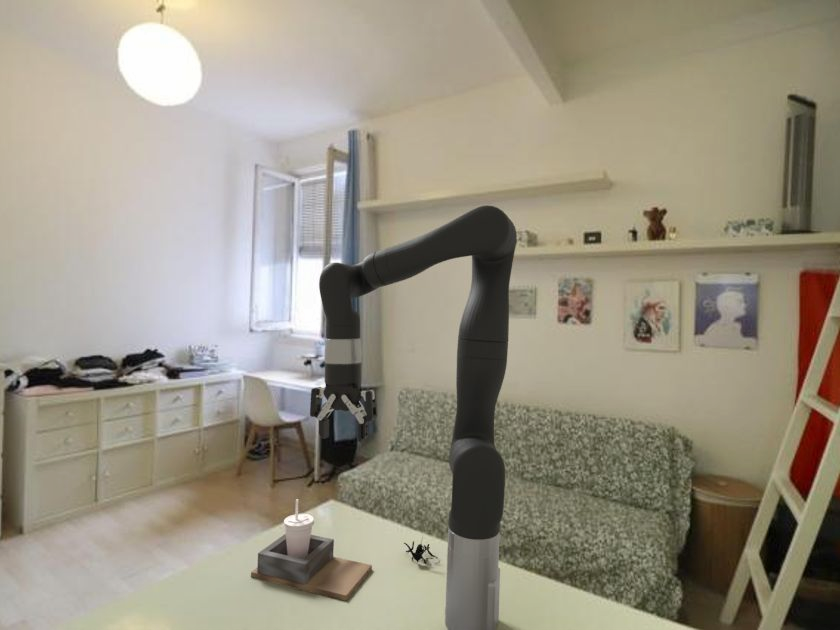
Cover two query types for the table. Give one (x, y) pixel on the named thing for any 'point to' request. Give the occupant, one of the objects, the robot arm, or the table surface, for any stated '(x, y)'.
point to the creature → (419, 552)
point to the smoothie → (298, 533)
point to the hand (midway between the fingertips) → (343, 439)
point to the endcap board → (311, 568)
